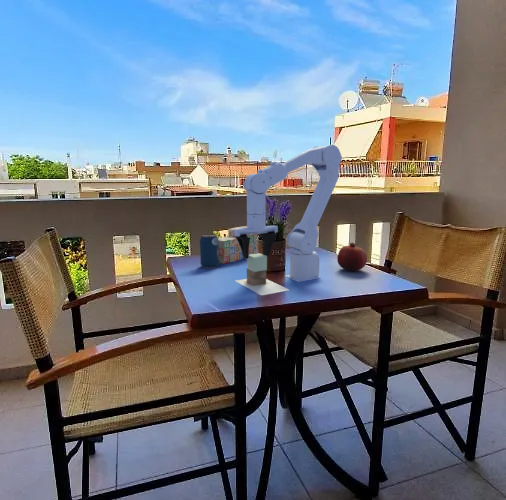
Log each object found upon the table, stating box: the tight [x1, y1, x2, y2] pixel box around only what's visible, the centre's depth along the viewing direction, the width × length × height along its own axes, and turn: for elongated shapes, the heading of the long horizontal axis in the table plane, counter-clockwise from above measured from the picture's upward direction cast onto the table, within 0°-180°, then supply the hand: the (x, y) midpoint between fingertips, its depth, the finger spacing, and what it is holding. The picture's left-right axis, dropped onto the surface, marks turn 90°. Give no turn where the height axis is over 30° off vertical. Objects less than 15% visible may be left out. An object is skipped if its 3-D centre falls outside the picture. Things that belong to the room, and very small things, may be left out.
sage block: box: [246, 252, 268, 272], centre depth 117 cm, size 4×4×4 cm
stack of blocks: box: [217, 225, 257, 265], centre depth 153 cm, size 21×6×12 cm, turn 141°
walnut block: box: [246, 268, 267, 285], centre depth 118 cm, size 4×4×4 cm
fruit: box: [336, 242, 368, 272], centre depth 134 cm, size 11×10×10 cm
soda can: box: [199, 233, 220, 269], centre depth 140 cm, size 7×7×12 cm
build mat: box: [235, 278, 290, 296], centre depth 116 cm, size 10×17×1 cm, turn 30°
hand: (256, 256), depth 117 cm, fingers open, 7 cm apart
